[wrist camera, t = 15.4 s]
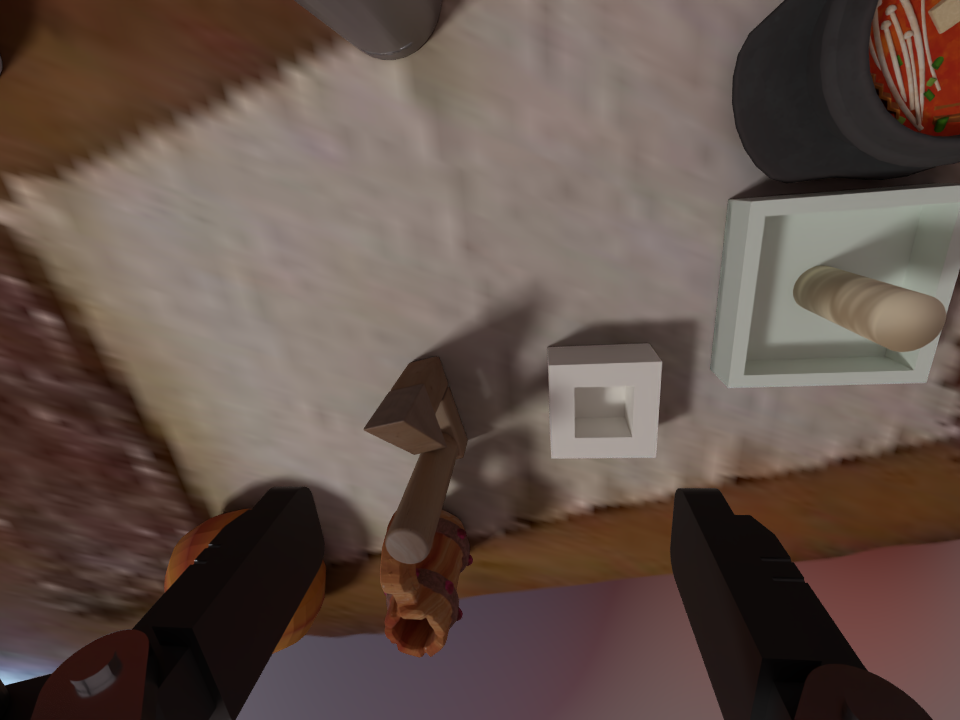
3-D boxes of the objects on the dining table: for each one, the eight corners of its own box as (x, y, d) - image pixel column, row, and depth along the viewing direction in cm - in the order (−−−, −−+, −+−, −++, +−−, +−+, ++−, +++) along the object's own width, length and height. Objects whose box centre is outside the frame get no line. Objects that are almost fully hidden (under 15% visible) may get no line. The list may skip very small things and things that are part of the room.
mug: (480, 556, 57) (463, 676, 44) (419, 560, 59) (383, 677, 45) (457, 458, 52) (429, 558, 39) (390, 465, 54) (340, 564, 40)
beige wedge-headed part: (439, 354, 48) (389, 446, 31) (469, 440, 51) (437, 564, 35) (407, 362, 49) (341, 456, 32) (438, 446, 52) (394, 570, 36)
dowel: (796, 266, 40) (884, 296, 30) (846, 263, 39) (953, 292, 29) (789, 311, 41) (871, 353, 31) (838, 308, 41) (937, 350, 31)
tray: (728, 199, 40) (750, 201, 35) (934, 183, 37) (984, 183, 33) (710, 369, 45) (727, 388, 41) (888, 363, 43) (926, 382, 39)
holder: (547, 347, 46) (548, 365, 42) (649, 343, 45) (662, 361, 40) (549, 432, 50) (551, 458, 45) (644, 431, 49) (655, 457, 44)
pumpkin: (324, 621, 65) (267, 739, 51) (197, 578, 65) (106, 685, 51) (351, 522, 58) (294, 630, 44) (208, 474, 58) (105, 566, 44)
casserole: (755, 234, 40) (807, 247, 33) (693, 9, 35) (738, -39, 27) (1104, 89, 34) (1272, 62, 26) (1092, -212, 29) (1298, -357, 21)
